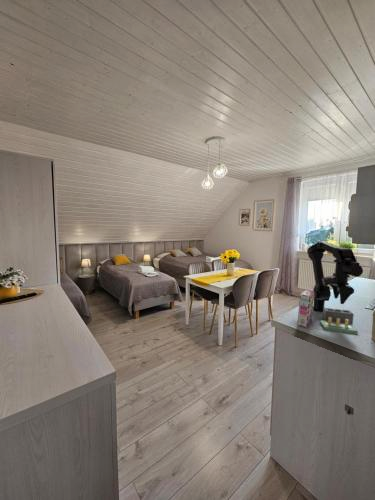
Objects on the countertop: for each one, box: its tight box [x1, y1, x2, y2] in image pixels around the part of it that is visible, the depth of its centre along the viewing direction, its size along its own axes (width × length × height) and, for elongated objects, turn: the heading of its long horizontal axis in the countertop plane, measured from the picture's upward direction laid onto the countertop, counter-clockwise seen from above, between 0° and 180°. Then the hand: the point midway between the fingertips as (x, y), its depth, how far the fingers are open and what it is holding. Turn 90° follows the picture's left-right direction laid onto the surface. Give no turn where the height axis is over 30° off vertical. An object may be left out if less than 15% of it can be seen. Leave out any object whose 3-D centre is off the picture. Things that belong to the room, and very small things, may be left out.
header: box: [319, 317, 359, 335], centre depth 110 cm, size 8×14×5 cm, turn 73°
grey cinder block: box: [322, 307, 354, 326], centre depth 118 cm, size 5×12×6 cm, turn 73°
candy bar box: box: [296, 289, 314, 329], centre depth 115 cm, size 11×5×16 cm, turn 141°
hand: (338, 301), depth 117 cm, fingers open, 9 cm apart
